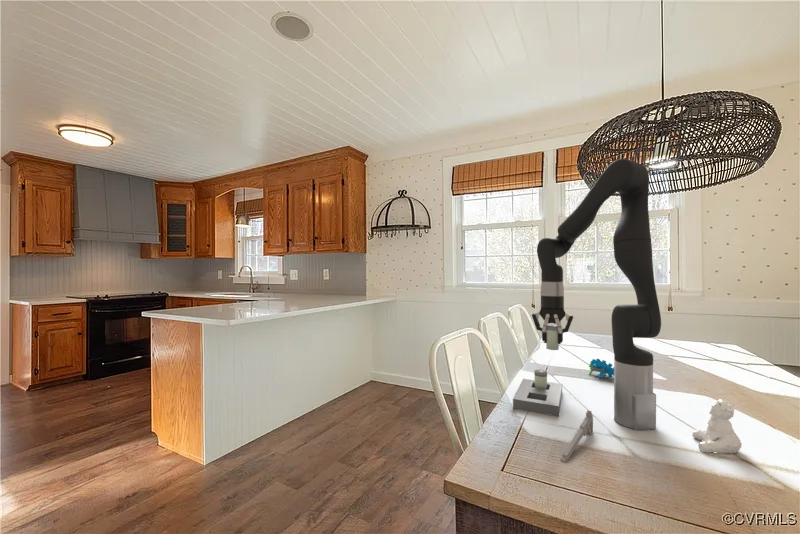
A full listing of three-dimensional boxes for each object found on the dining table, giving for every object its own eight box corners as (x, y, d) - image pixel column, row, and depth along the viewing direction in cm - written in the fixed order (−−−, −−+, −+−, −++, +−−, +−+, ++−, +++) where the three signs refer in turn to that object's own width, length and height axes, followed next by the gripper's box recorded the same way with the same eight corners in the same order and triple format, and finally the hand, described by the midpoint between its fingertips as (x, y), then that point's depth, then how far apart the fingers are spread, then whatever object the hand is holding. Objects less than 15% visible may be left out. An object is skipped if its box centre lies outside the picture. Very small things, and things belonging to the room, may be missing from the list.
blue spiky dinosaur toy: (624, 375, 140) (610, 358, 137) (618, 387, 137) (604, 371, 135) (598, 371, 149) (584, 355, 147) (592, 383, 147) (578, 367, 145)
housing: (558, 416, 105) (558, 389, 105) (512, 408, 111) (512, 382, 111) (562, 392, 125) (562, 369, 125) (523, 386, 131) (523, 364, 131)
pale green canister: (561, 350, 125) (561, 326, 125) (549, 350, 124) (549, 327, 124) (554, 347, 129) (554, 325, 129) (544, 347, 129) (543, 325, 129)
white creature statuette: (690, 435, 94) (690, 389, 94) (734, 443, 90) (734, 395, 89) (699, 452, 85) (700, 402, 85) (748, 461, 81) (748, 409, 81)
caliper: (588, 431, 96) (588, 408, 96) (593, 433, 96) (593, 409, 96) (560, 461, 82) (560, 434, 82) (565, 463, 81) (565, 435, 81)
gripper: (574, 294, 127) (575, 343, 127) (532, 293, 133) (532, 339, 133) (574, 295, 120) (574, 347, 120) (529, 294, 127) (529, 343, 127)
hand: (552, 342), depth 127 cm, fingers closed on pale green canister, 4 cm apart
